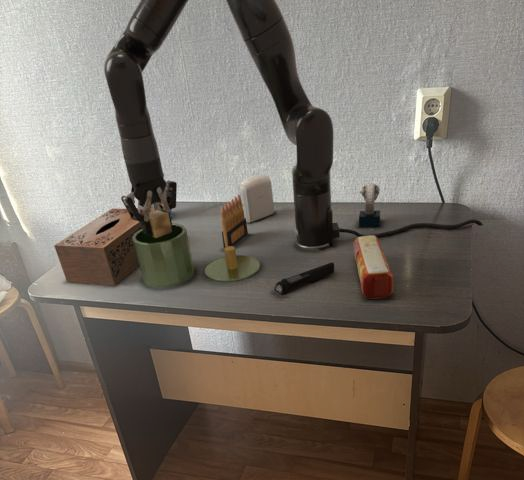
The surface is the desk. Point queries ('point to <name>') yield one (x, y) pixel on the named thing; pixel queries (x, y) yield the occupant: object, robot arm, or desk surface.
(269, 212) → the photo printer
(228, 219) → the ammunition clip
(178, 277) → the canister
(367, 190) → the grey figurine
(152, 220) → the block
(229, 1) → the robot arm
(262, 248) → the desk surface
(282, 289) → the electric trimmer
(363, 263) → the snack package
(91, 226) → the tissue box cover
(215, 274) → the lid
